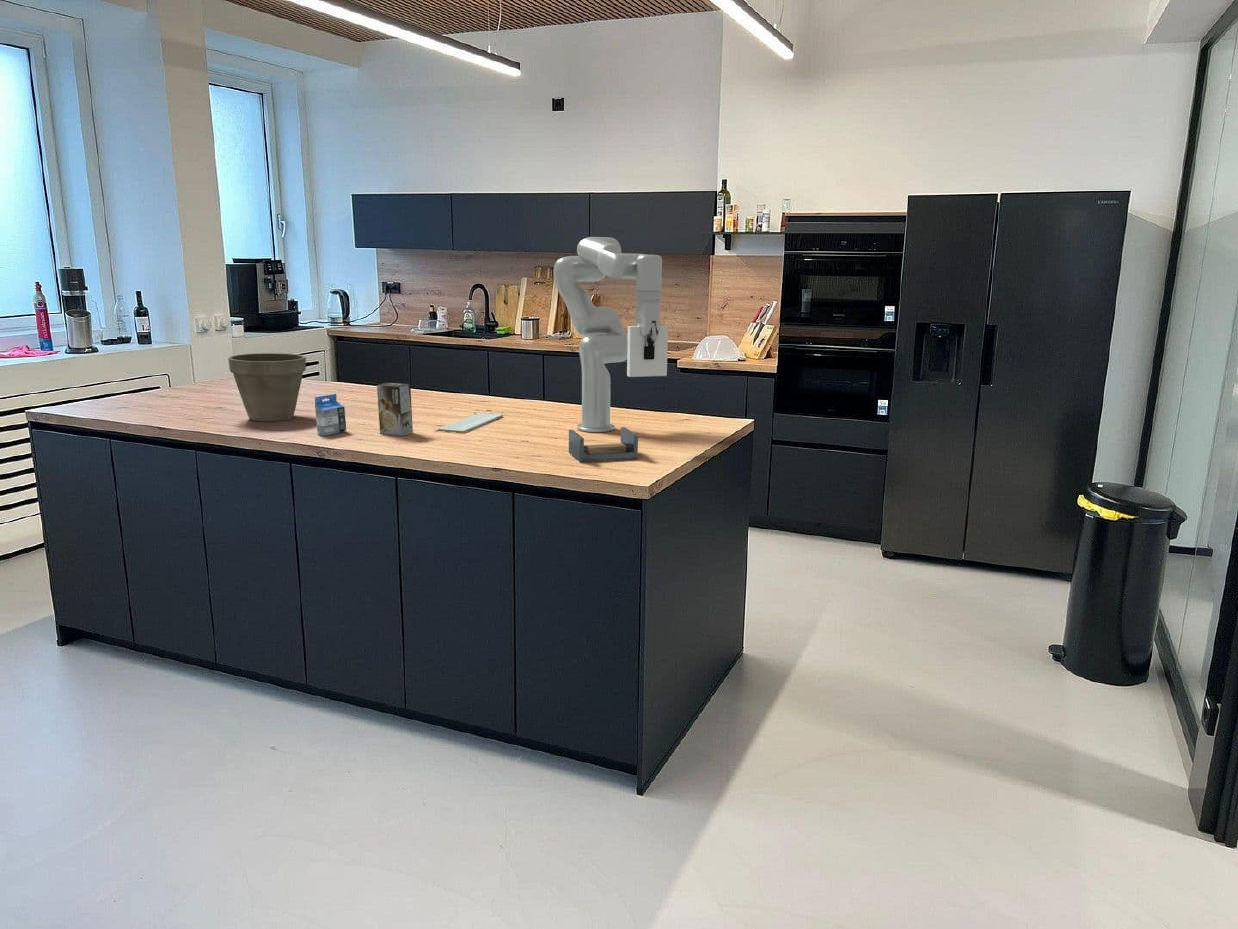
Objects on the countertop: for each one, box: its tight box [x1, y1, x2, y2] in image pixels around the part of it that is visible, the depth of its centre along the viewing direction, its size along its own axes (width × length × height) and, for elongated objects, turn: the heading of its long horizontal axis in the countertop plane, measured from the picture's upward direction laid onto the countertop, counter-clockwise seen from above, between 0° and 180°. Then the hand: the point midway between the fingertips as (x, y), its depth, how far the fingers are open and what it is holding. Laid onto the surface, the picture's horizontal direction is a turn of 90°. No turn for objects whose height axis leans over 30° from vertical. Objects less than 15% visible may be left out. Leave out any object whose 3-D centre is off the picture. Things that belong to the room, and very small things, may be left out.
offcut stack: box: [584, 442, 626, 455], centre depth 252 cm, size 4×13×4 cm, turn 107°
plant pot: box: [227, 352, 307, 423], centre depth 302 cm, size 25×25×22 cm
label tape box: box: [314, 393, 347, 437], centre depth 280 cm, size 9×4×12 cm, turn 149°
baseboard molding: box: [434, 409, 504, 434], centre depth 299 cm, size 31×3×12 cm
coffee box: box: [376, 382, 414, 437], centre depth 280 cm, size 9×6×16 cm
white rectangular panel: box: [626, 325, 669, 378], centre depth 263 cm, size 2×12×15 cm, turn 107°
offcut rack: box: [568, 426, 639, 463], centre depth 254 cm, size 13×17×7 cm
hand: (647, 358), depth 263 cm, fingers closed on white rectangular panel, 2 cm apart
